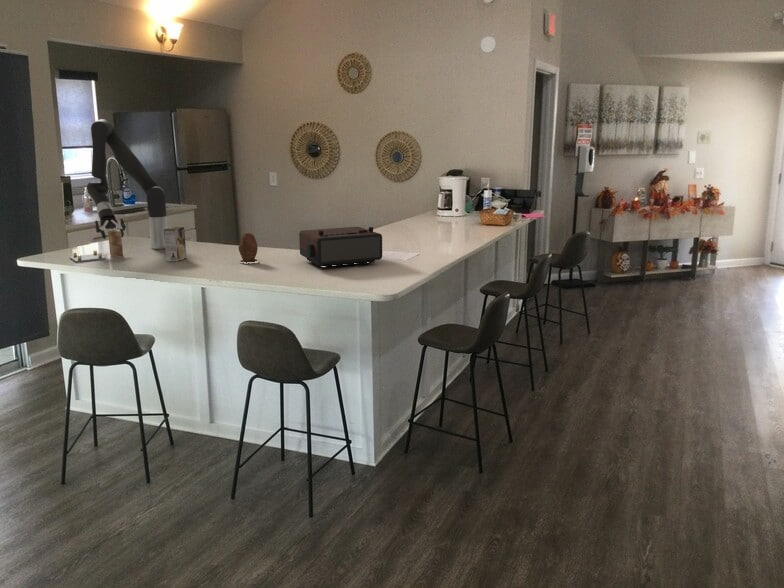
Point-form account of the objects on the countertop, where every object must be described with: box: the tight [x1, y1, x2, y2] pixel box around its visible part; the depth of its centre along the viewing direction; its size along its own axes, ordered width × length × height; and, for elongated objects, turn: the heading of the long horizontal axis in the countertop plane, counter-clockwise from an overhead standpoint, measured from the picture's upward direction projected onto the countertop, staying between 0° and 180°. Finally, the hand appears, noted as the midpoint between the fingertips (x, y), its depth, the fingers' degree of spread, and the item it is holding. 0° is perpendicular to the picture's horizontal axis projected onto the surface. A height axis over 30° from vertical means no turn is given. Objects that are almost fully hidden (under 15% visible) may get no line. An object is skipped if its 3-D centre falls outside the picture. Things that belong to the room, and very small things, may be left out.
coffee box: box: [164, 226, 187, 262], centre depth 337 cm, size 9×6×16 cm
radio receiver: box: [298, 226, 383, 267], centre depth 328 cm, size 35×27×18 cm
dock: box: [69, 250, 107, 264], centre depth 341 cm, size 14×14×3 cm
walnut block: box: [107, 229, 124, 258], centre depth 348 cm, size 5×5×13 cm
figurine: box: [238, 232, 259, 263], centre depth 331 cm, size 9×10×15 cm
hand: (113, 237), depth 349 cm, fingers open, 8 cm apart
